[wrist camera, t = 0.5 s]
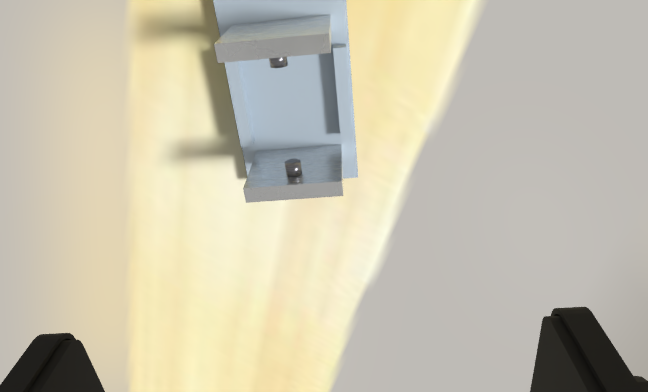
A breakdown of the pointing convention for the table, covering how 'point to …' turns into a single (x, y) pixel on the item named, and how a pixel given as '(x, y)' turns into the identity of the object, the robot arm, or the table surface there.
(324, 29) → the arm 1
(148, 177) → the table surface
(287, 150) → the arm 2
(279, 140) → the holder
